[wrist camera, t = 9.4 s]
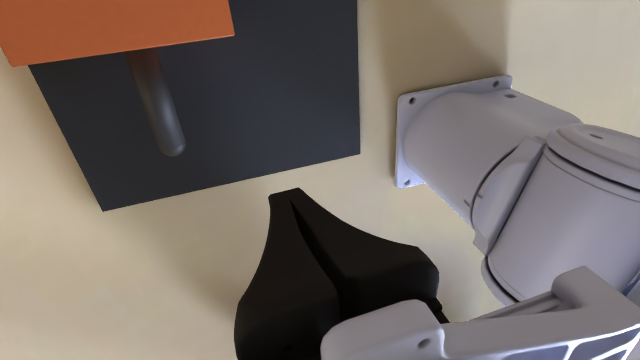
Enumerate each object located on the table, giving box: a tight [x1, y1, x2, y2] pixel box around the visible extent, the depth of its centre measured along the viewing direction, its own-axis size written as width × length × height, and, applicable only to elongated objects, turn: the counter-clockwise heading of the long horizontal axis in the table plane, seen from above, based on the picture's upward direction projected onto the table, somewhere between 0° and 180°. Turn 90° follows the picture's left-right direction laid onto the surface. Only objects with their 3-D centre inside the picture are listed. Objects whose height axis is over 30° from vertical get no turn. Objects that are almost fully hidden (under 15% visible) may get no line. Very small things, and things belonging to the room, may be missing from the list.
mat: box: [28, 0, 360, 212], centre depth 20 cm, size 18×22×1 cm
